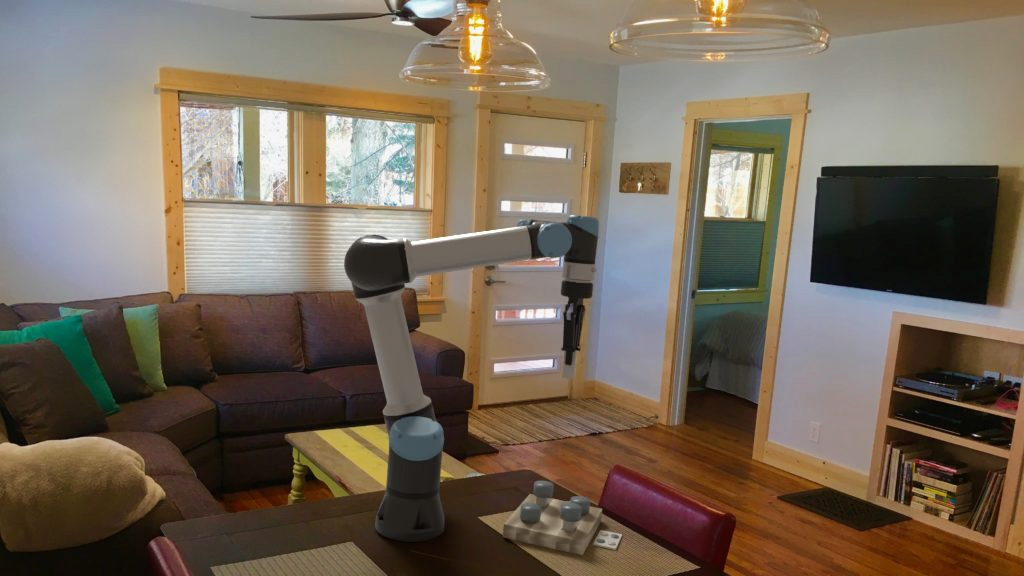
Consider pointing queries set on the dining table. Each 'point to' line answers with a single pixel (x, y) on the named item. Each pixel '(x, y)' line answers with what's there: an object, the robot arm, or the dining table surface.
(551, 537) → the board
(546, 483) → the button
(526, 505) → the button
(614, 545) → the tile
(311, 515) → the dining table surface
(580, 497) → the button
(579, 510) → the button
